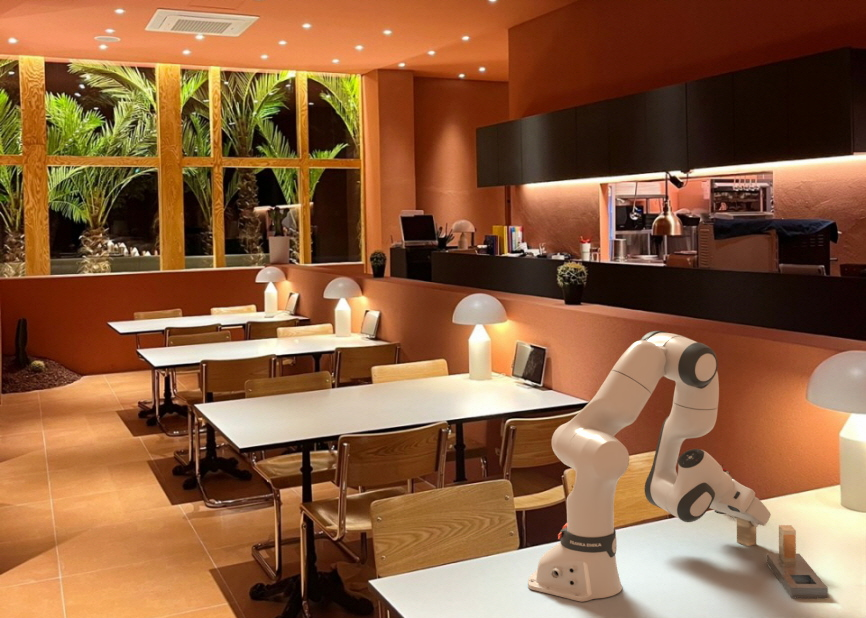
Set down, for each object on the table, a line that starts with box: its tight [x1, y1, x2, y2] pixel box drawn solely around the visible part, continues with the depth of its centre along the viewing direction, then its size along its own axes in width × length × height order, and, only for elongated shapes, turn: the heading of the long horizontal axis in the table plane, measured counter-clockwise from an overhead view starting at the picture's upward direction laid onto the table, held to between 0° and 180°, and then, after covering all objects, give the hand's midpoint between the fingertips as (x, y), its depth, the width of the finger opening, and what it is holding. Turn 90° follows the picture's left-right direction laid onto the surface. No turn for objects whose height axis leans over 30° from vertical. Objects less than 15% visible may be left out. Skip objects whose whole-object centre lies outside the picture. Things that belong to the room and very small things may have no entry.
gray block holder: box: [766, 524, 829, 599], centre depth 213 cm, size 8×22×10 cm, turn 173°
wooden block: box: [736, 517, 757, 547], centre depth 239 cm, size 3×4×10 cm
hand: (747, 521), depth 239 cm, fingers closed on wooden block, 4 cm apart
